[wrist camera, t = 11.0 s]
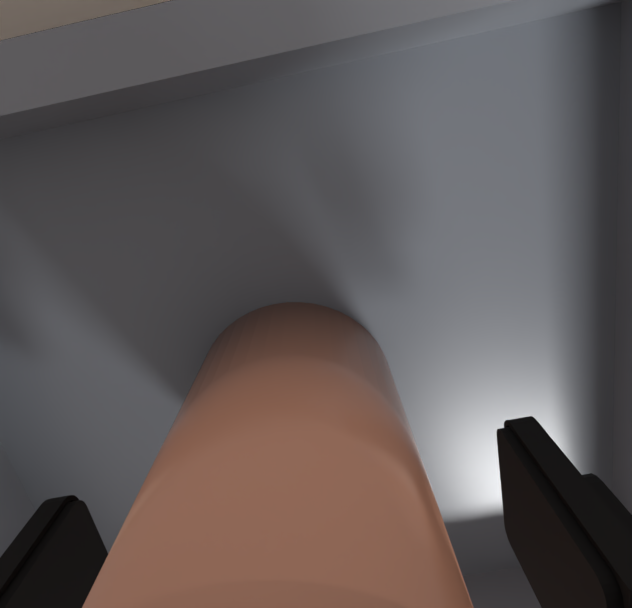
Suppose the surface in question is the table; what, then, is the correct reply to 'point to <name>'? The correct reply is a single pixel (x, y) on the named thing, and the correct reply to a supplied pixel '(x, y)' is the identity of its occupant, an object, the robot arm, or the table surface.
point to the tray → (320, 233)
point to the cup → (286, 483)
